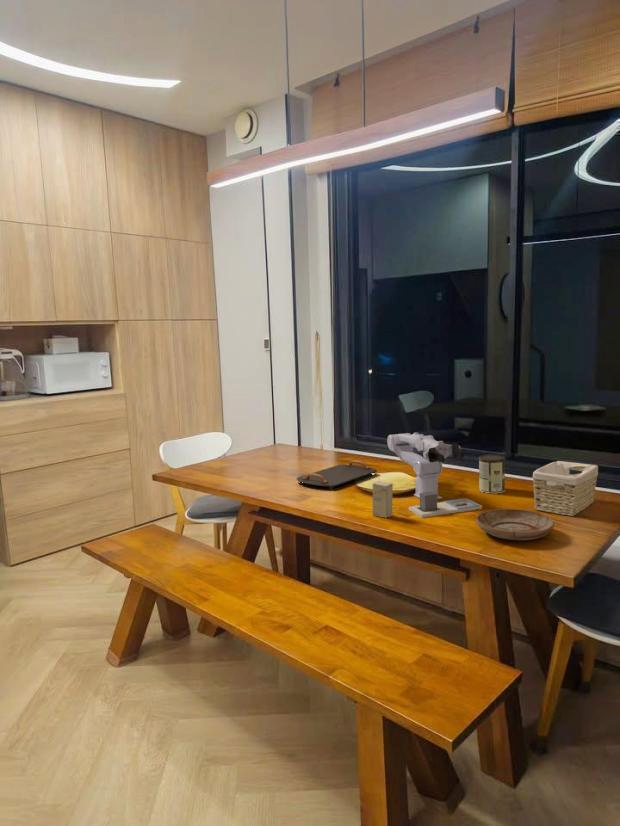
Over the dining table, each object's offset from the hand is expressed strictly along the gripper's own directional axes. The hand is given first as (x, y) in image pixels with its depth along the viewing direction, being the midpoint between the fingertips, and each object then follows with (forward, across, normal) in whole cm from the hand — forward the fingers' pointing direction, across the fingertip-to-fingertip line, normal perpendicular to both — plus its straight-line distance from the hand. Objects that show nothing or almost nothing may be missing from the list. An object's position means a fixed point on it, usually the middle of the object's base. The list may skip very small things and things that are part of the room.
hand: (452, 457), depth 203 cm
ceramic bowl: (+28, +5, +20) cm, 35 cm away
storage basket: (+11, +38, +24) cm, 47 cm away
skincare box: (-4, -27, +18) cm, 33 cm away
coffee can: (-18, +26, +24) cm, 40 cm away
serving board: (-61, -27, +22) cm, 71 cm away
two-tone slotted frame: (-2, -3, +20) cm, 21 cm away
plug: (-2, -10, +20) cm, 22 cm away
